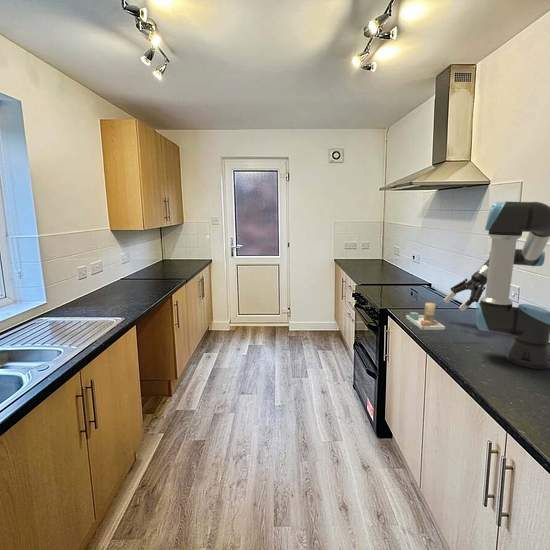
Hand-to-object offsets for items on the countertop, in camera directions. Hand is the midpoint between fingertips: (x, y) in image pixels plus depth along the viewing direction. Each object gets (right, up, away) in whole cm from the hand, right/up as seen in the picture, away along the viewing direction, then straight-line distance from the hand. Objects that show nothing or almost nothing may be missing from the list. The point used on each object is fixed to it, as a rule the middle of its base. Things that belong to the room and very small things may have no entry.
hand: (452, 305), depth 192 cm
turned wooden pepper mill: (-10, -10, +5) cm, 15 cm away
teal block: (-15, -9, +13) cm, 22 cm away
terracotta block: (-15, -11, -2) cm, 19 cm away
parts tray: (-13, -11, +6) cm, 18 cm away
